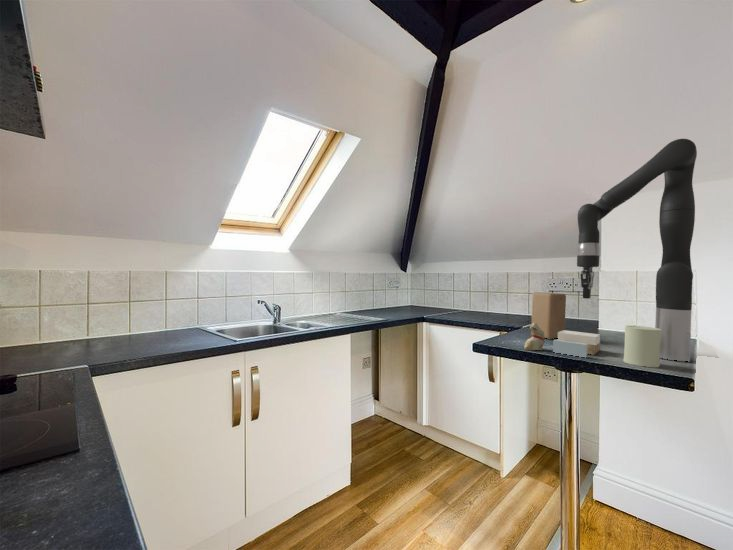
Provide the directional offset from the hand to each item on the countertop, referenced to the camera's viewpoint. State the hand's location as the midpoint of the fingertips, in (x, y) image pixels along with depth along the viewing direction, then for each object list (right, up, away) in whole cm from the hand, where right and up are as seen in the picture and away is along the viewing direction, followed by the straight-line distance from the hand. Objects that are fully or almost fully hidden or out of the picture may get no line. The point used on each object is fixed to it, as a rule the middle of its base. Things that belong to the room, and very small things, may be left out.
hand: (586, 298), depth 138 cm
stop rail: (-18, -18, -19) cm, 32 cm away
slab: (-9, -16, -9) cm, 20 cm away
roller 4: (-5, -19, -5) cm, 20 cm away
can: (0, -19, -28) cm, 34 cm away
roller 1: (-12, -18, -13) cm, 25 cm away
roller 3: (-7, -19, -7) cm, 21 cm away
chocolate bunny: (-26, -18, -11) cm, 34 cm away
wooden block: (-7, -19, +17) cm, 27 cm away
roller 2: (-9, -18, -9) cm, 23 cm away
